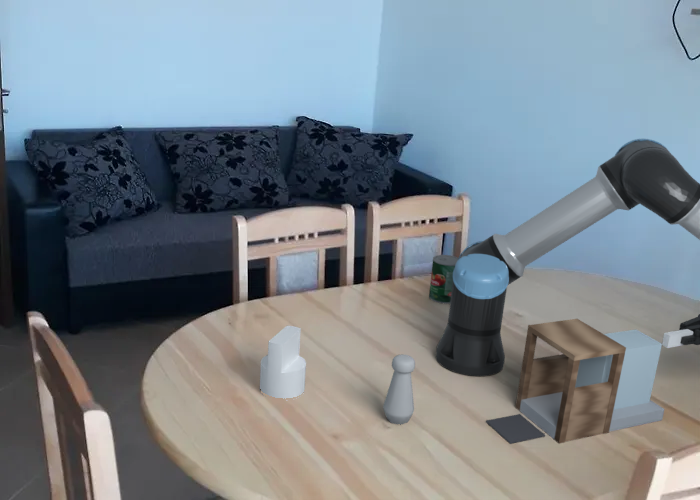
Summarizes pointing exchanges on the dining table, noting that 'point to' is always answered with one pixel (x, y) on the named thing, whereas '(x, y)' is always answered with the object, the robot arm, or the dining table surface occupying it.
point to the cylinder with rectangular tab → (283, 365)
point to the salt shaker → (400, 391)
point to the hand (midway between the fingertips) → (665, 340)
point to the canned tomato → (442, 278)
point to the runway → (548, 407)
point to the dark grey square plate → (515, 428)
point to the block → (625, 368)
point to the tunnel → (571, 376)
